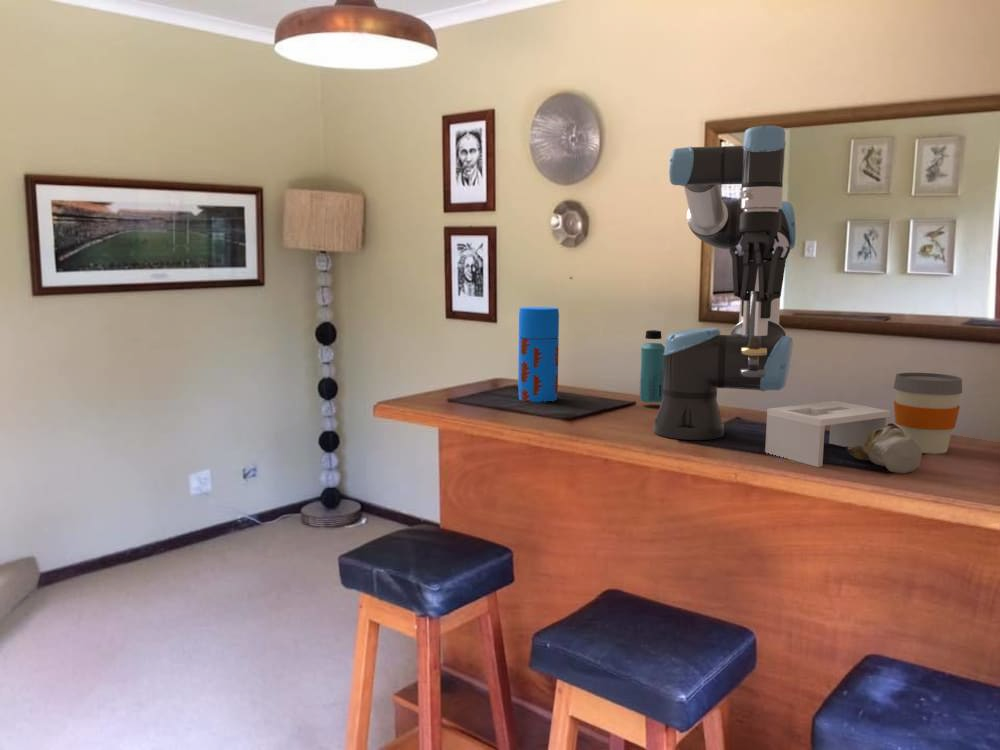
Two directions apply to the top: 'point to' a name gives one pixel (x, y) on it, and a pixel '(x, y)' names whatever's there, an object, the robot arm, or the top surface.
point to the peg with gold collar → (753, 344)
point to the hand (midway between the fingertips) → (754, 334)
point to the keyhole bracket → (819, 428)
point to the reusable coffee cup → (927, 408)
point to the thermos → (538, 354)
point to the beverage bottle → (652, 369)
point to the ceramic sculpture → (889, 450)
